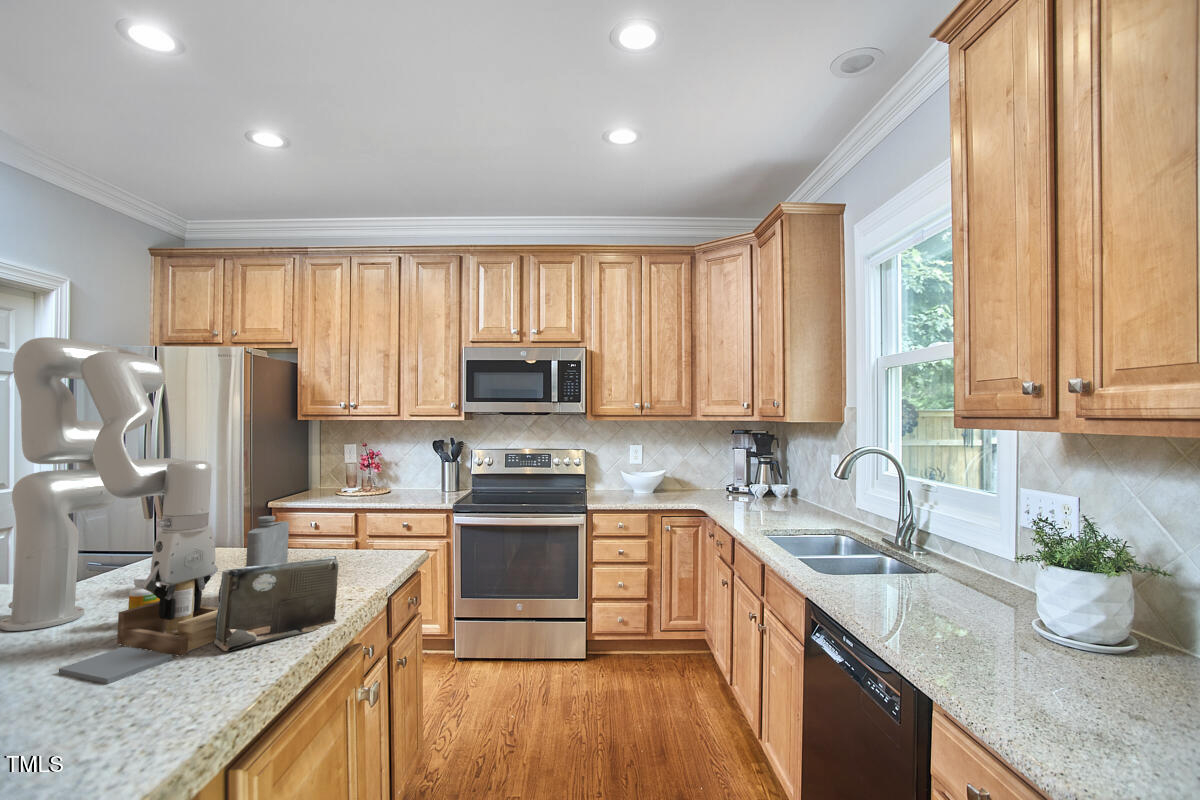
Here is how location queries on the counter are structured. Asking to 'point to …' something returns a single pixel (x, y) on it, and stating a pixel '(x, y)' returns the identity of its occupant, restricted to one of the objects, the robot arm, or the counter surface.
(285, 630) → the radio
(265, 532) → the hip flask
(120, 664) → the rubber mat
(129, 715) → the counter surface
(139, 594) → the supplement bottle
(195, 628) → the offcut stack
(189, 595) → the sprinkles bottle
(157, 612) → the rack
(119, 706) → the counter surface
